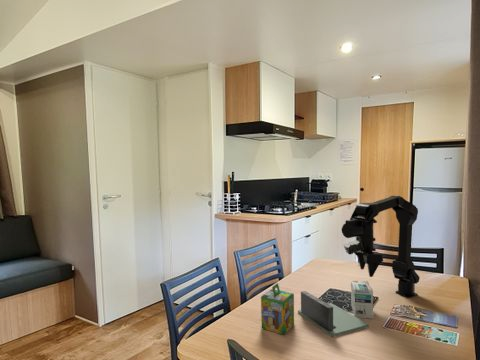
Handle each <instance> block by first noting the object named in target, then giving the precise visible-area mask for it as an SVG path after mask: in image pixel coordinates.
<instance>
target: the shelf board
mask: <svg viewBox="0 0 480 360" xmlns="http://www.w3.org/2000/svg"><path fill="white" fill-rule="evenodd" d="M328 304H329V305H331V306H332V307H333V325H334V326H336V328H333V330H332V331H329V332H328V331H327V330H326V329H324V328H323V327H321V326H320V325H318V324H317V323H315V322H314V321H313V320H311V319H310V318H308V317H307V316H305V315H304V314H303V313H301V309H299V310H297V313H298V315H301V316H302V317H303V318H304V319H306V320H308V321H309V322H310V323H311V324H313V325H314V326H316V327H317V328H318V329H320V330H321V331H323V332H324V333H326V334H327V335H328V336H330V337H331V338H335V337H339V336H342V335H345V334H349V333H352V332H357V331H359V330H364V329H366V328H369V327H370V324H369V323H367V322H365V321H364V320H362V319H361V318H358V317H355V316H354V314H353V313H352V314H351V313H350V312H348V311H346V310H345V309H342V308H341V307H339V306H337V305H335V304H333V303H332V302H329V303H328Z"/></svg>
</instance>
